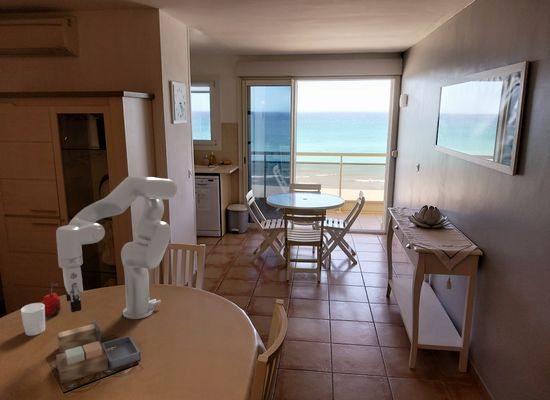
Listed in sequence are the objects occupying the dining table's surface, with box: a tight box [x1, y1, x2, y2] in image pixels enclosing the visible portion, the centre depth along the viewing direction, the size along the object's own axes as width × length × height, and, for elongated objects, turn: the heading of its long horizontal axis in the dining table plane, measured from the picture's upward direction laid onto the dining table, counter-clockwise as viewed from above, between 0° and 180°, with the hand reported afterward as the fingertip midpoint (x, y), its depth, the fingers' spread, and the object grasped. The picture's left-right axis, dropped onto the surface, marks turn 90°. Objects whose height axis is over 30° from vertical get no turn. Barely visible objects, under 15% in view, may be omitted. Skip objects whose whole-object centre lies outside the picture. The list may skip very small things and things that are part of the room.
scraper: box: [57, 319, 102, 354], centre depth 146 cm, size 13×9×6 cm
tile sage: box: [64, 346, 85, 365], centre depth 132 cm, size 5×5×2 cm
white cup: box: [20, 302, 46, 337], centre depth 154 cm, size 8×8×10 cm
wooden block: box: [55, 342, 109, 384], centre depth 134 cm, size 14×11×4 cm
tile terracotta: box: [82, 341, 102, 359], centre depth 135 cm, size 5×5×2 cm
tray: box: [101, 335, 141, 371], centre depth 141 cm, size 10×13×3 cm
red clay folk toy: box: [41, 281, 62, 317], centre depth 167 cm, size 8×7×15 cm
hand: (73, 305), depth 143 cm, fingers open, 9 cm apart
